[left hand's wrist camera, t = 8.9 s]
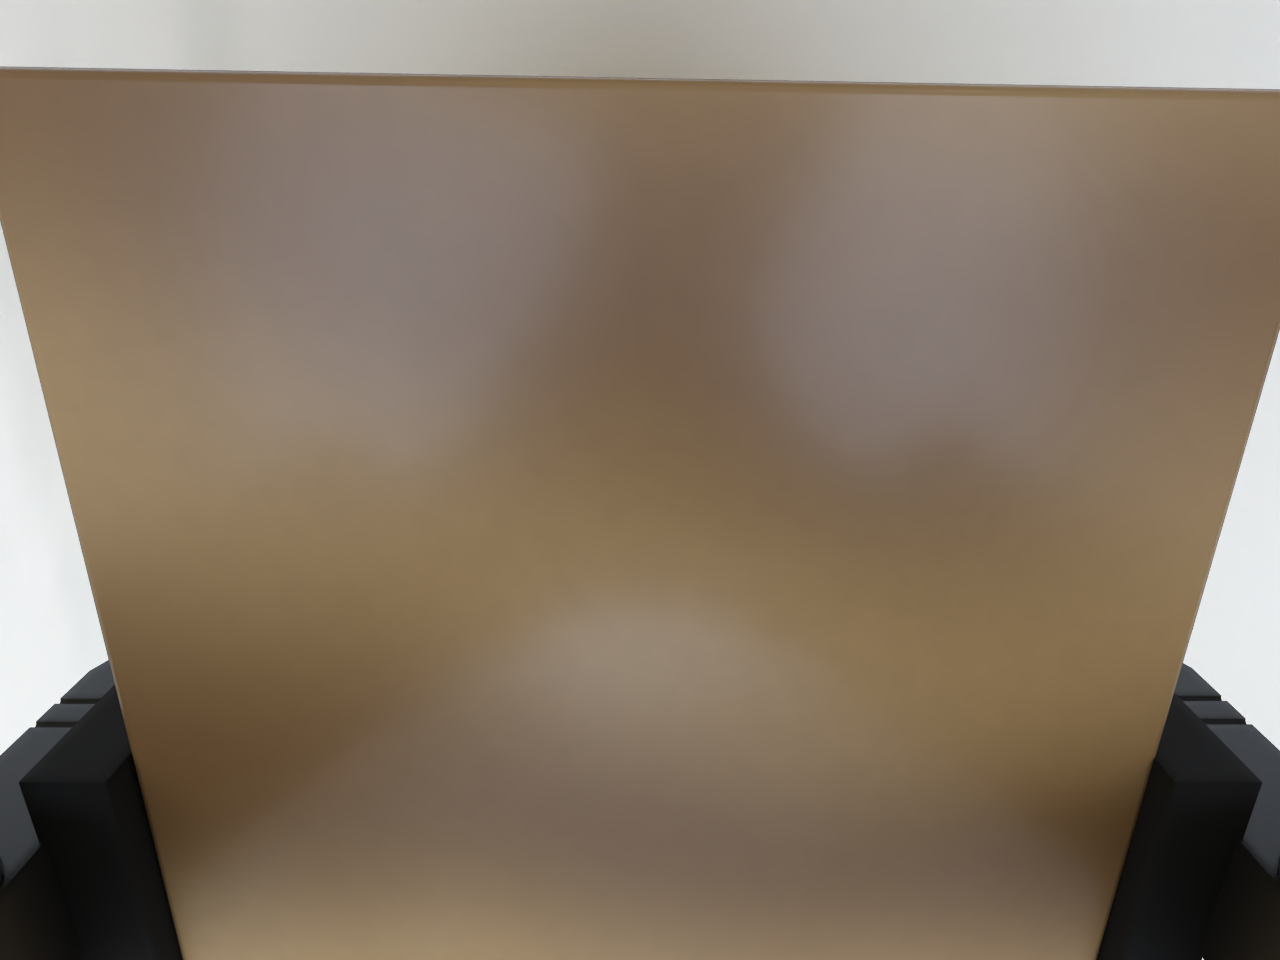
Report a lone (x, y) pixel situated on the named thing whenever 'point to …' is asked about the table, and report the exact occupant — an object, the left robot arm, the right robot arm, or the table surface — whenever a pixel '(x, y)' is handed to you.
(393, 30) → the table surface
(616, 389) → the long beam
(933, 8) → the table surface
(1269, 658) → the table surface
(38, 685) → the table surface
